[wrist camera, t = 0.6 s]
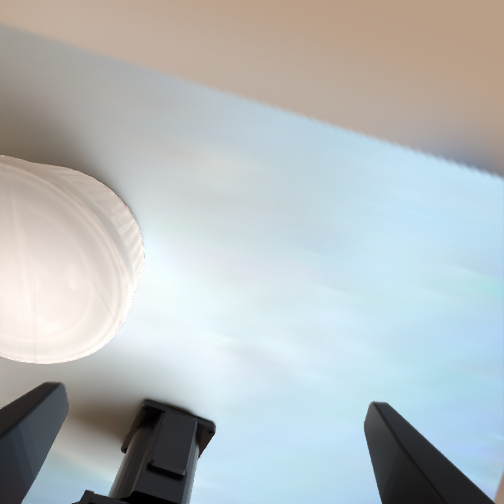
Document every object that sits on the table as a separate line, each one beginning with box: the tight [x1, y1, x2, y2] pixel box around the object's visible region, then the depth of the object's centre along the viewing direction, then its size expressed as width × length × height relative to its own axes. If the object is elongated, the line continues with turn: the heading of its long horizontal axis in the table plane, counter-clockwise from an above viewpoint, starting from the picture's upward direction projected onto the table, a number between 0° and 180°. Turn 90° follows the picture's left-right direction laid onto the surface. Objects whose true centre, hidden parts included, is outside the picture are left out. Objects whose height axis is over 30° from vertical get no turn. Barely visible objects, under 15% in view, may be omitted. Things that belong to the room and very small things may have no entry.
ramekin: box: [0, 155, 145, 364], centre depth 16 cm, size 11×11×5 cm
